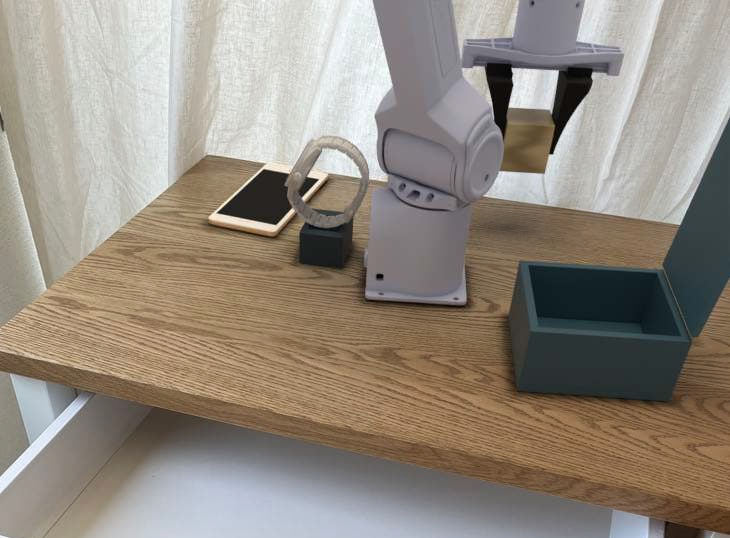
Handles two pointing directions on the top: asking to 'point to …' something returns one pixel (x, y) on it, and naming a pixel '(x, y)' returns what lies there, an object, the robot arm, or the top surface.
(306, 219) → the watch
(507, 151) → the block
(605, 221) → the top surface
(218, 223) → the cell phone
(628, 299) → the chest
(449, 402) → the top surface
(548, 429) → the top surface
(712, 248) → the lid
